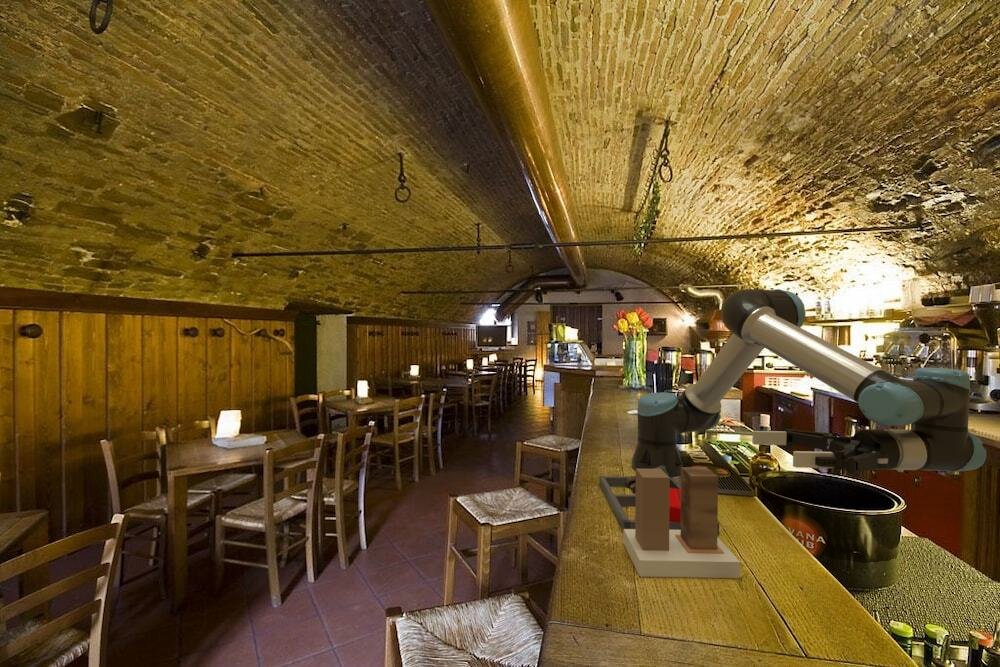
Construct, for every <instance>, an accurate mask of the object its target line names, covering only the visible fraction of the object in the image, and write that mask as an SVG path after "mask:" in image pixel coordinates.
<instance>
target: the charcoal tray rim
mask: <svg viewBox="0 0 1000 667" xmlns="http://www.w3.org/2000/svg"><path fill="white" fill-rule="evenodd" d="M632 476H633V475H631V476H630V475H629V476H628V475H625V476H624V475H599V486H601V487H600V489H601V490H602V492H603V494H604V497H605V498H606V500H607V502H608V504H609V505H610V509H612V512H613V513H614V516H615V517H616V520H617V519H618V520H617V522H618V523H619V525H620V527H621V529H622V531H623V530H624V529H635V519H629V518H628V516H627V514H626V513H625V511H624V509H623V507H635V504H636V495H635V494H624V493H623V494H619V493H618V494H616V493H614V491H613V490H612V488H611V487H627V486H626V484H625V481H626V479H628V478H630V477H632ZM669 477H670V488H677V489H680V490H681V483H679V482H678V481H677V479H675V478H674V476H669ZM669 530H681V523H679V522H671V521H669ZM719 535H720V523H719V522H718V530H717V536H719Z"/></svg>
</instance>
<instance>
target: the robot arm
mask: <svg viewBox="0 0 1000 667" xmlns="http://www.w3.org/2000/svg"><path fill="white" fill-rule="evenodd" d="M806 313H807V312H806V311H805V304H804V302H803V300H802V299H801V298H800V297H799V295H797V294H795V293H794V292H793V291H788V290H782V289H780V288H779V289H778V288H777V289H757V288H756V289H755V288H754V289H753V288H744V289H740V290H737V291H734V292H733V293H731V294H730V295H728V296H727V297H726V298H725V299H724V301H723V302H722V305H721V308H720V319H721V321H722V324H723V325H724V327H725V328H726V329H727V330H728V331H729V332H730V333H731V335H730V336H729V338H728V339H727V341H726V342H725V343H724V345H723V347H721V349H720V350H719V352H718V353H717V355H716V356H715V357H714V358H713V360H712V361H711V363H710V364H708V367H707V368H706V369H705V370H704V372H703V373H702V374H701V376H700V377H699V379H698V380H697V381H696V383H695V384H694V383H693V384H689V385H687V387H686V388H685V389H684V390H683V391H682V393H681V394H680V395H678V396H677V395H676V394H675V393H672V392H663V391H662V392H661V391H660V392H652V393H651V392H650V393H646V394H644V395H642V396H640V397H639V399H638V402H637V403H638V404H637V444H636V446H635V449H634V453H633V455H632V458H631V467H632V469H633V470H635V471H636V469H653V468H656V467H659V466H663V465H665V467H666V471H667V472H668V474H669V477H674V476H678V475H681V467H683V466H684V464H683V461H682V458H681V455H680V451H679V449H678V446H677V445H678V444H677V443H678V434H686V433H696V432H697V433H698V432H701V433H702V432H706V431H708V430H712V429H713V428H714V427H716V426H717V425H718V424H719V422H720V420H721V414H720V413H722V402H721V401H722V400H723V399H724V398H725V397H726V395H727V394H728V393H729V391H730V390H731V389H732V387H734V385H735V384H736V383H737V382H738V380H740V378H741V377H742V376H743V374H744V373H745V372H746V371H747V370H748V369H749V367H750V366H751V364H752V363H754V361H755V360H756V359H757V357H758V356H759V355H760V353H762V351H764V349H766V350H768V351H769V352H771V353H773V354H775V355H776V356H778V357H779V358H782V359H783V360H785V361H786V362H788V363H790V365H791V364H792V365H793V366H794V367H796V368H799V369H800V370H801V371H803V372H805V373H807V374H809V375H810V376H811V377H814V378H815V379H817V380H818V381H820V382H822V383H824V384H825V385H826V386H828V387H830V388H832V389H833V390H834V391H837V392H839V393H840V394H842V395H844V396H845V397H847V398H848V399H850V400H852V401H854V402H856V403H857V404H858V407H859V410H860V411H861V413H862V414H863V415H864V417H865V418H866V419H868V420H869V421H871V422H873V423H875V424H877V425H881V426H889V427H890V426H894V427H898V426H900V427H901V426H909V425H911V424H912V429H901V428H900V429H894V428H892V429H891V428H890V429H889V428H887V429H886V428H883V429H875V428H874V429H872V428H871V429H869V428H867V429H866V428H864V429H863V428H862V429H859V430H857V431H856V432H855V433H854V434H853V435H852V437H850V436H846V435H839V436H838V434H837V433H835V432H819V431H811V430H810V431H808V430H803V429H801V430H799V429H794V428H793V429H791V428H785V427H781V428H780V431H776V430H774V431H773V430H752V442H751V443H752V445H755V446H756V445H758V446H782V447H785V448H786V446H787V445H792V446H800V447H806V448H811V449H817V450H821V451H811V450H807V451H804V450H803V451H802V450H801V451H799V450H795V451H794V450H793V454H792V467H793V468H802V469H803V468H805V469H808V468H811V469H834V468H835V469H836V470H839V471H840V470H841V471H843V470H845V469H846V473H848V474H852V475H853V474H859V473H863V472H866V471H871V470H875V471H877V470H878V471H879V470H880V471H886V470H887V471H891V470H894V471H895V470H896V471H897V472H898V473H904V471H937V472H948V473H954V472H965V471H967V472H968V471H974V470H977V469H979V468H980V467H982V466H983V465H984V463H985V461H986V460H987V449H986V448H984V445H983V444H984V443H983V441H982V440H981V439H980V438H979V437H978V436H977V435H975V434H974V433H972V432H970V431H969V419H970V418H969V416H970V403H971V402H970V399H971V393H972V389H971V377H970V374H969V373H968V372H967V371H965V370H962V369H957V368H955V369H954V368H946V367H944V368H943V367H918V368H916V370H914V374H913V378H912V380H903V379H902V378H899V377H897V376H896V375H893V374H891V373H890V372H887V371H885V370H884V369H882V368H880V367H878V366H876V365H875V364H872V363H870V362H868V361H867V360H864V359H862V358H860V357H858V356H856V355H855V354H852V353H850V352H848V351H846V350H844V349H843V348H841V347H839V346H837V345H835V344H833V343H831V342H829V341H827V340H825V339H823V338H821V337H819V336H818V335H815V334H813V333H811V332H809V331H808V330H806V329H804V328H801V327H802V326H803V324H804V322H805V319H806ZM834 455H835V456H834Z"/></svg>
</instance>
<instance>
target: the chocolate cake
mask: <svg viewBox="0 0 1000 667" xmlns="http://www.w3.org/2000/svg"><path fill="white" fill-rule="evenodd" d="M653 469H662V470H663V471H664V472H665V473H666V474H667V475H668V476H669V474H668V472H667V471H666V467H665V465H663V466H659V467H656V468H653ZM631 476H632V477H630V478H628V479H626V481H625V484H626V486H625V487H628V488H629V489H631V492H632V495H636V475H631ZM669 477H670V476H669Z"/></svg>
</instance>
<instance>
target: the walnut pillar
mask: <svg viewBox="0 0 1000 667" xmlns="http://www.w3.org/2000/svg"><path fill="white" fill-rule="evenodd" d="M680 485H681V535H680V536H681V538H682V539H683V540H684V541H685V543H686V544H687V545H688V547H689V548H690V549H708V550H717V537H718V535H717V530H718V523H719V519H718V518H719V517H718V516H719V515H718V514H719V513H718V511H719V510H718V509H719V506H718V505H719V476H718V475H717V474H716V473H714V472H713V471H712V470H711V469H709V468H708V467H705V466H704V467H697V466H696V467H695V466H694V467H693V466H692V467H689V466H688V467H686V466H684V467H681V474H680Z"/></svg>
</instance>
